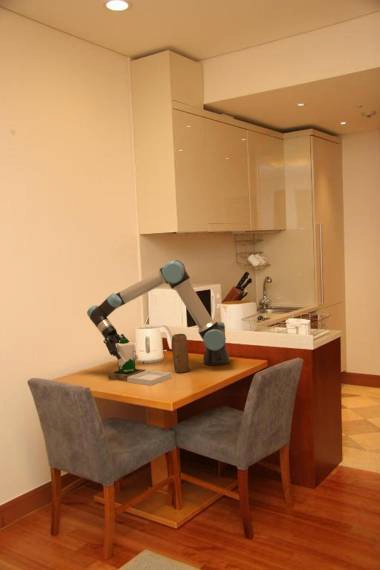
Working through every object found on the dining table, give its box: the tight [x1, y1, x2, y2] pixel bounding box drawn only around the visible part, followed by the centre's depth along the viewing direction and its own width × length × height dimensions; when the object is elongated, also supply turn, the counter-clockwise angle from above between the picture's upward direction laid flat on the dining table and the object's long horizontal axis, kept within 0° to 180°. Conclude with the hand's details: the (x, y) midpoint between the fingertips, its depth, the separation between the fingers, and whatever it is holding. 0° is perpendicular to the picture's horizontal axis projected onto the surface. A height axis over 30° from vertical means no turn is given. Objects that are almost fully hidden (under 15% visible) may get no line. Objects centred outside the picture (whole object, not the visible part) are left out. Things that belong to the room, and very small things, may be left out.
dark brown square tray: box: [108, 367, 147, 382], centre depth 288 cm, size 14×14×3 cm
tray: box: [126, 369, 173, 386], centre depth 279 cm, size 16×16×3 cm
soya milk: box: [116, 338, 137, 375], centre depth 287 cm, size 9×9×20 cm
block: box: [171, 333, 190, 374], centre depth 293 cm, size 11×8×20 cm
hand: (130, 361), depth 285 cm, fingers closed on soya milk, 9 cm apart
